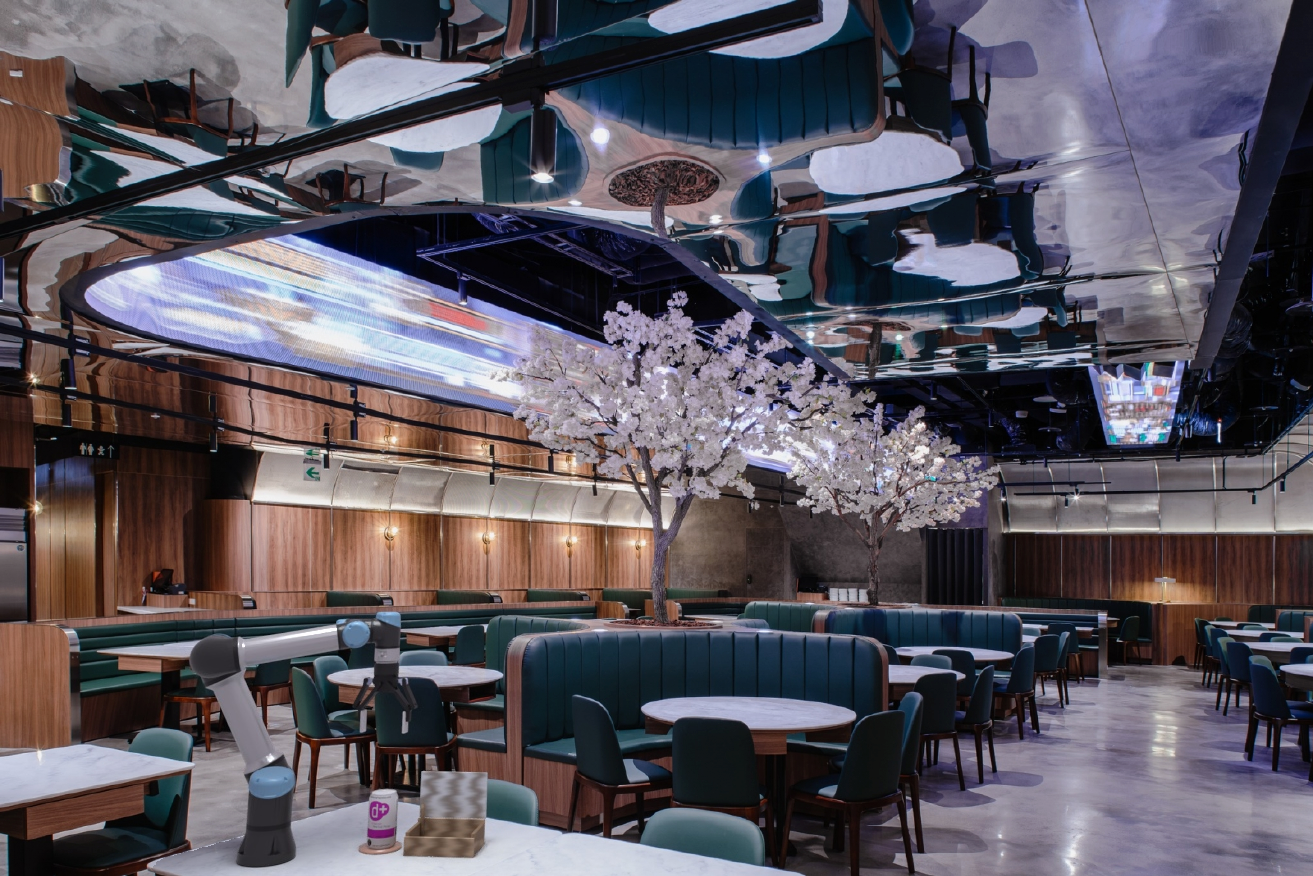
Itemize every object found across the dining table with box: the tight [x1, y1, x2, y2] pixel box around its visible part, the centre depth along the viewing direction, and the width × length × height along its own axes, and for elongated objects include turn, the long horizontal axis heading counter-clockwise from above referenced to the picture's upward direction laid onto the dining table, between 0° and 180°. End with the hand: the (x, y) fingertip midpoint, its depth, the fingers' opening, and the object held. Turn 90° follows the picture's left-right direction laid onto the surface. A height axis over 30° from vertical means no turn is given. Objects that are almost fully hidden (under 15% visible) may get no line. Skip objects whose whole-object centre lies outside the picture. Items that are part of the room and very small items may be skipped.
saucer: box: [358, 840, 403, 856], centre depth 259 cm, size 12×12×1 cm
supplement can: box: [366, 788, 399, 849], centre depth 260 cm, size 8×8×15 cm
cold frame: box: [402, 770, 488, 859], centre depth 260 cm, size 20×14×20 cm
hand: (383, 732), depth 276 cm, fingers open, 13 cm apart
